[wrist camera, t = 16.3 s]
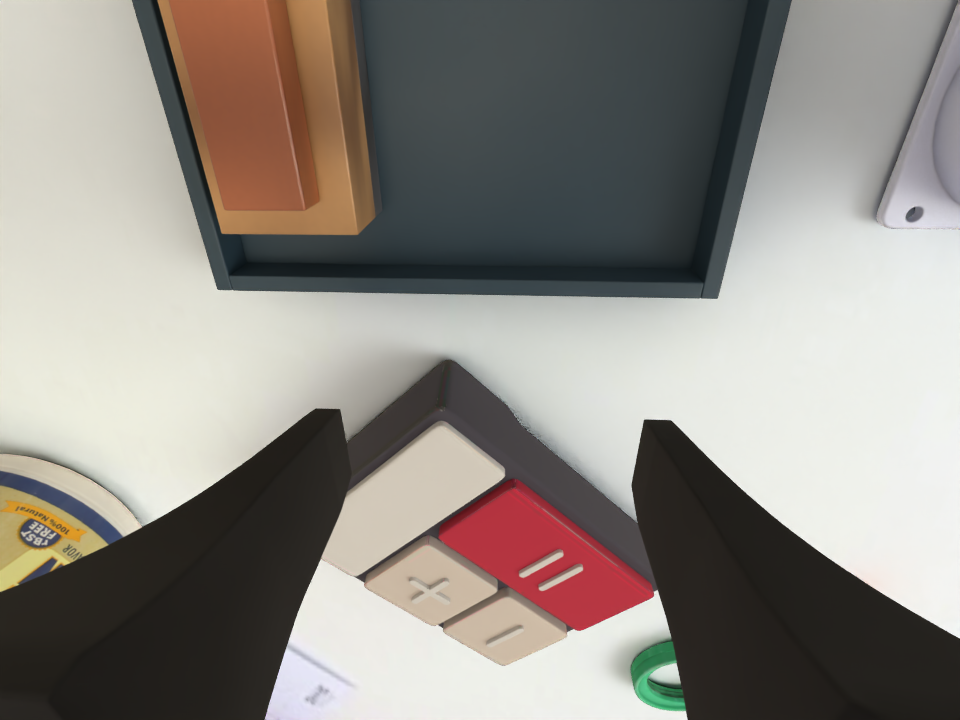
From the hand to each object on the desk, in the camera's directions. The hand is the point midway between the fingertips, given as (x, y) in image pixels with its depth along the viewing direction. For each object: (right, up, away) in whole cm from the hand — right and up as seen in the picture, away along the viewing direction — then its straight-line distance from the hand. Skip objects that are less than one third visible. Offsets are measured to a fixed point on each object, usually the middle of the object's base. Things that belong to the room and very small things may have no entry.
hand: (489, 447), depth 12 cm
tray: (-1, +11, +5) cm, 12 cm away
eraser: (-6, +11, +4) cm, 13 cm away
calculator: (0, -5, +14) cm, 15 cm away
